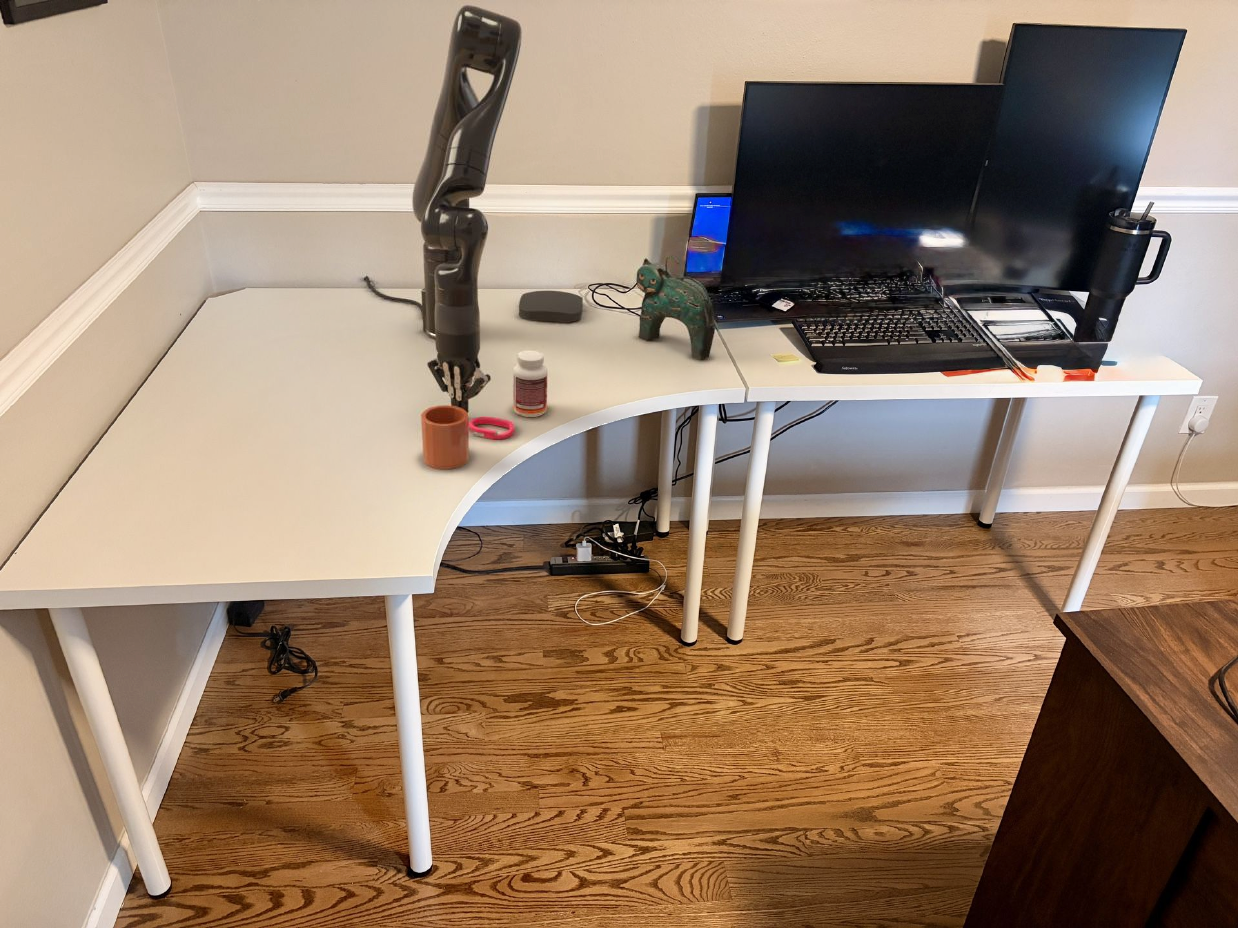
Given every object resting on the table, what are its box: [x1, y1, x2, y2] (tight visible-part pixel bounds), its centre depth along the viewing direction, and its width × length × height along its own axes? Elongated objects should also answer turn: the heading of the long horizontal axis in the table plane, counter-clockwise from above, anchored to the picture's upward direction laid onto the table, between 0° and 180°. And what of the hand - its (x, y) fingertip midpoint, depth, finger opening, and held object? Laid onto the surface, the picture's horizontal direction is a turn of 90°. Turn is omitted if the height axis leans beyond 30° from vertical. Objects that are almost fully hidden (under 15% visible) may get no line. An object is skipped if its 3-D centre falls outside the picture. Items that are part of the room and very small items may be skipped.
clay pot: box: [420, 404, 470, 470], centre depth 148 cm, size 7×7×8 cm
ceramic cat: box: [636, 254, 716, 361], centre depth 195 cm, size 20×6×20 cm, turn 47°
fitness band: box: [468, 416, 515, 440], centre depth 159 cm, size 8×6×2 cm
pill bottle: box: [512, 350, 548, 418], centre depth 165 cm, size 6×6×11 cm
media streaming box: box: [518, 290, 584, 323], centre depth 213 cm, size 15×15×3 cm
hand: (459, 416), depth 162 cm, fingers closed
